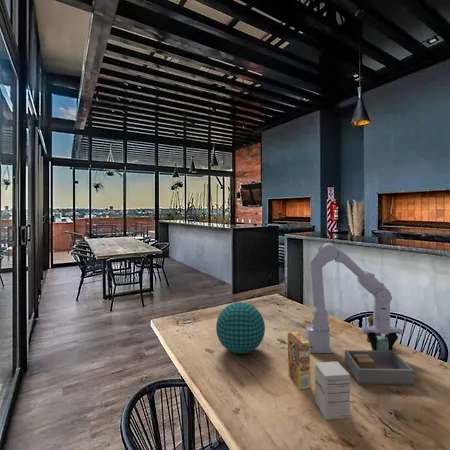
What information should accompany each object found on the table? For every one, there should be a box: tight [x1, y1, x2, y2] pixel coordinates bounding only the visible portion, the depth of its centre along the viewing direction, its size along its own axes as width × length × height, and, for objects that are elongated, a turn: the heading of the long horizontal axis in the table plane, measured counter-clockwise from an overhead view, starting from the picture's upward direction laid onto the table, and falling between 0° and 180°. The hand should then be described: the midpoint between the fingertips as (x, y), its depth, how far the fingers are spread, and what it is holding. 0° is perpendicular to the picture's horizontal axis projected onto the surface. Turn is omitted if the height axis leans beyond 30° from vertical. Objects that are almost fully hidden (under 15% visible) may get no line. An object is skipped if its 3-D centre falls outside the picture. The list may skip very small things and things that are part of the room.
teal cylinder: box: [376, 335, 389, 351], centre depth 115 cm, size 5×5×7 cm
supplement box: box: [314, 361, 351, 421], centre depth 84 cm, size 7×7×13 cm
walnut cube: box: [354, 354, 374, 369], centre depth 103 cm, size 5×5×5 cm
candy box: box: [287, 331, 312, 390], centre depth 99 cm, size 9×4×15 cm, turn 13°
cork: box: [366, 314, 382, 343], centre depth 128 cm, size 6×6×11 cm
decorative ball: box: [215, 301, 266, 355], centre depth 121 cm, size 20×20×20 cm
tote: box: [344, 349, 415, 387], centre depth 103 cm, size 18×14×5 cm
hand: (381, 351), depth 115 cm, fingers closed on teal cylinder, 5 cm apart
